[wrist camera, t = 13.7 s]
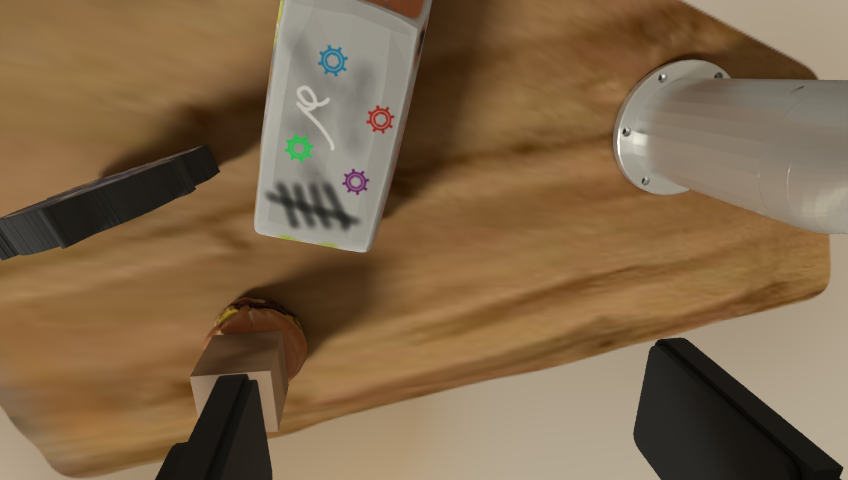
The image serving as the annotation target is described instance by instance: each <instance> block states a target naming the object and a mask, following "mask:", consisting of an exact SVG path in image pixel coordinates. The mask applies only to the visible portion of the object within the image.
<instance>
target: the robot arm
mask: <svg viewBox="0 0 848 480" xmlns="http://www.w3.org/2000/svg"><path fill="white" fill-rule="evenodd" d="M658 78H659V79H658ZM623 129H624V131H623ZM622 131H623V133H622ZM613 148H614V153H615V158H616V161H617V163H618V166H619V168H620V170H621V171H622V173H623V174H624V176H625V177H626V178H627V179H628V180H629V181H630V182H631V183H632V184H633V185H635V186H637V187H639V188H641V189H643V190H645V191H648V192H651V193H654V194H660V195H673V194H678V193H682V192H686V191H688V190H694V191H697V192H699V193H702V194H705V195H708V196H711V197H713V198H716V199H719V200H722V201H725V202H727V203H730V204H733V205H736V206H739V207H741V208H744V209H747V210H750V211H753V212H755V213H758V214H761V215H764V216H767V217H769V218H772V219H775V220H778V221H781V222H784V223H787V224H790V225H792V226H795V227H798V228H801V229H805V230H808V231H812V232H817V233H824V234H848V81H847V80H791V79H733V78H731V77H730V76H729V75H728V74H727V72H726V71H724V70H723V69H721V68H720V67H719V66H717V65H715V64H712V63H710V62H707V61H702V60H680V61H675V62H671V63H668V64H665V65H663V66H661V67H658V68H657V69H655V70H654V71H652V72H650V73H649V74H647V75H646V76H645V77H644V78H643V79H642V80H641V81H640V82H638V83H637V84H636V85H635V87H634V88H633V89H632V90H631V92H630V93H629V94H628V96H627V97H626V99H625V101H624V103H623V104H622V106H621V108H620V111H619V113H618V116H617V119H616V122H615V128H614V133H613ZM633 435H634V440H635V443H636V446H637V447H638V449H639V450H640V452H641V453H642V454H643V456H644V457H645V458H646V460H647V461H648V463H649V464H650V465H651V467H652V468H653V469H654V471H655V472H656V473H657V475H658V476H659V477H660V479H661V480H841V479H840V478H839V477H840V475H841V473H842V470H843V467H842V466H841V465H840V464H838V463H837V462H836V461H835V460H833V459H832V458H831V457H830V456H829V455H827V454H826V453H825V452H824V451H822V450H821V449H820V448H819V447H818V446H816V445H815V444H814V443H813V442H812V441H810V440H809V439H808V438H807V437H805V436H804V435H803V434H802V433H800V432H799V431H798V430H797V429H795V428H794V427H793V426H792V425H791V424H790V423H788V422H787V421H786V420H785V419H783V418H782V417H781V416H780V415H779V414H777V413H776V412H775V411H774V410H772V409H771V408H770V407H769V406H768V405H766V404H765V403H764V402H763V401H761V400H760V399H759V398H758V397H756V396H755V395H754V394H753V393H752V392H750V391H749V390H748V389H747V388H746V387H744V386H743V385H742V384H741V383H739V382H738V381H737V380H736V379H734V378H733V377H732V376H731V375H730V374H728V373H727V372H726V371H725V370H723V369H722V368H721V367H720V366H719V365H717V364H716V363H715V362H714V361H713V360H711V359H710V358H709V357H707V356H706V355H705V354H704V353H703V352H701V351H700V350H699V349H698V348H697V347H695V346H694V345H693V344H692V343H691V342H689V341H688V340H686V339H685V338H670V339H660V340H658V341H657V342H656V343H655V346H652V347H651V349H650V351H649V355H648V361H647V365H646V370H645V376H644V381H643V386H642V391H641V396H640V401H639V406H638V411H637V416H636V421H635V427H634V433H633ZM155 480H272V468H271V461H270V455H269V449H268V442H267V436H266V430H265V423H264V417H263V411H262V404H261V398H260V392H259V386H258V382H257V380H256V379H254V380H249V376H248V374H233V375H221V376H219V377H218V379H217V380H216V382H215V385H214V387H213V389H212V391H211V393H210V395H209V398H208V400H207V402H206V404H205V406H204V408H203V410H202V413H201V415H200V417H199V419H198V421H197V423H196V425H195V428H194V430H193V432H192V434H191V436H190V438H189V440H188V442H184V443H176V444H175V445H174V446H173V447H172V448H171V450H170V451H169V453H168V455H167V457H166V459H165V461H164V463H163V465H162V467H161V469H160V471H159V473H158V475H157V477H156V479H155Z"/></svg>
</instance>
